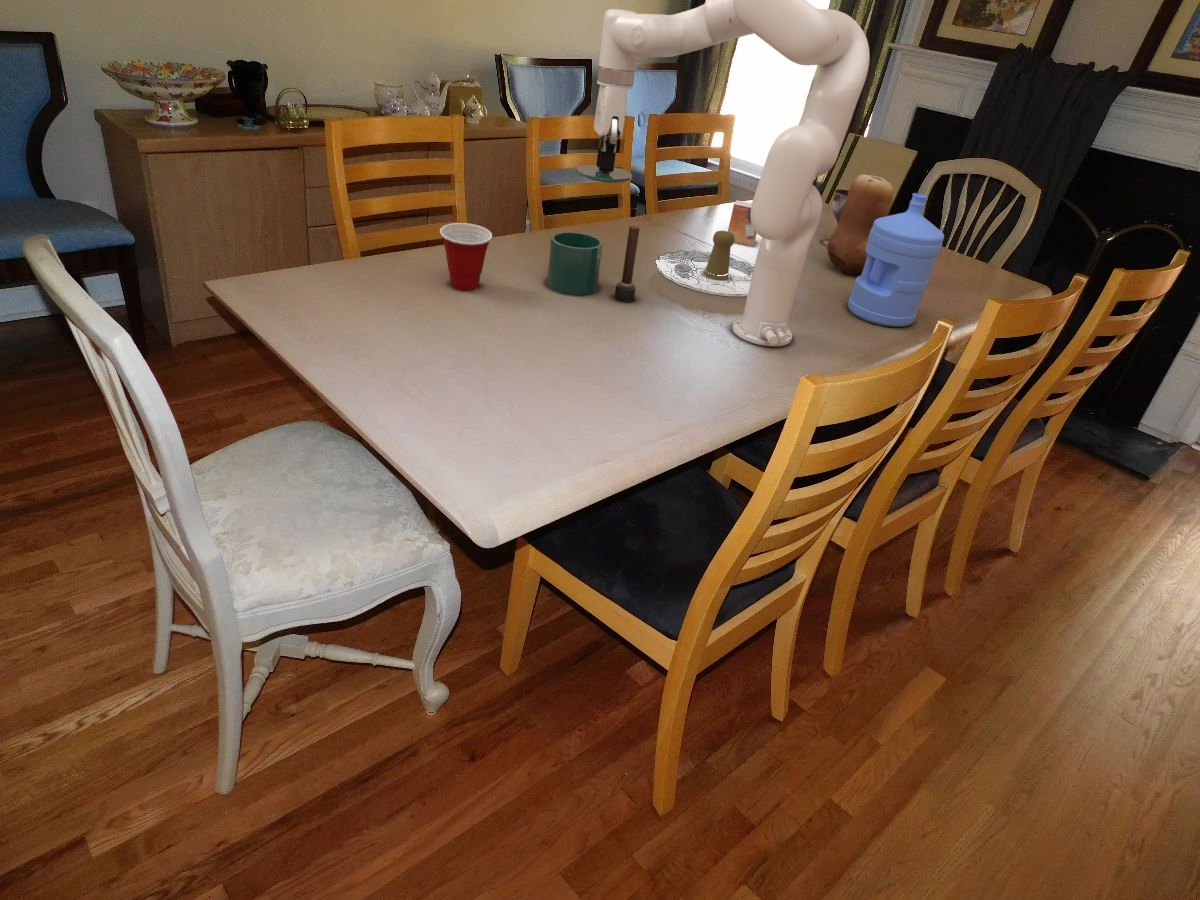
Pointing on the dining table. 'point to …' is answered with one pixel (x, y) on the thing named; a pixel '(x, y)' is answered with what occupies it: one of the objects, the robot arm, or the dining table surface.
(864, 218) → the butternut squash
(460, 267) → the plastic cup
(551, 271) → the jar
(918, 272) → the water jug
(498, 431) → the dining table surface
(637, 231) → the peg on round base
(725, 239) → the olive pawn
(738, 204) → the small box
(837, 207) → the wine glass
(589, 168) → the jar lid
